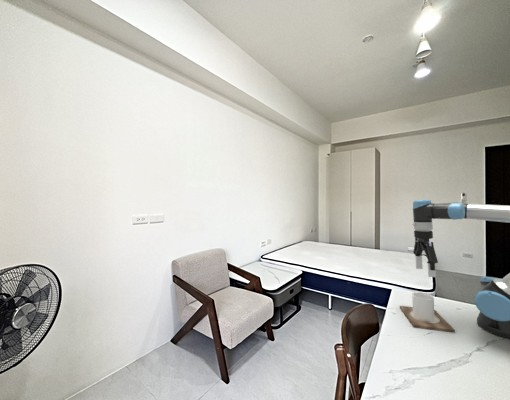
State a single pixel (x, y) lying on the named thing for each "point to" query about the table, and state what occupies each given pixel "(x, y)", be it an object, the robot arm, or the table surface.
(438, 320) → the board
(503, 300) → the robot arm
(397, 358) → the table surface
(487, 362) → the table surface
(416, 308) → the mug
